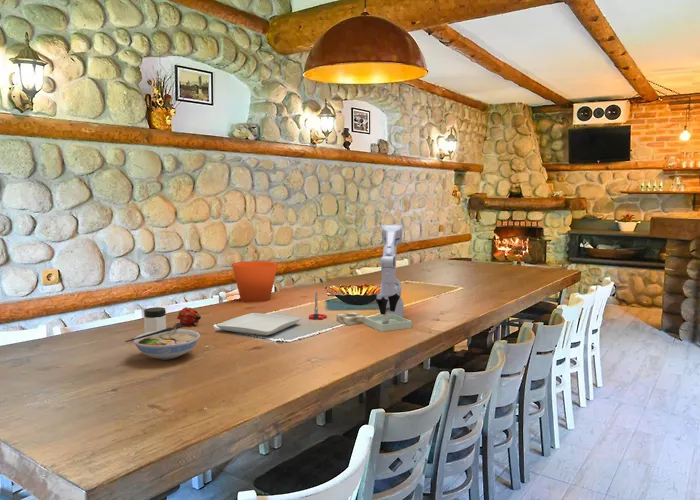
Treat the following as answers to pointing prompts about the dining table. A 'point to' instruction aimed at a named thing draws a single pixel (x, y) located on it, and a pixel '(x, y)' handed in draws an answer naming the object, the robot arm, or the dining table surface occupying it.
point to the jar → (154, 319)
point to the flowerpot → (255, 279)
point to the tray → (394, 324)
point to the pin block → (350, 318)
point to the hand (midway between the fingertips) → (387, 312)
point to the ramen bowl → (166, 342)
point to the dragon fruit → (188, 316)
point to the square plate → (258, 323)
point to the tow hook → (316, 315)
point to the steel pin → (386, 316)
